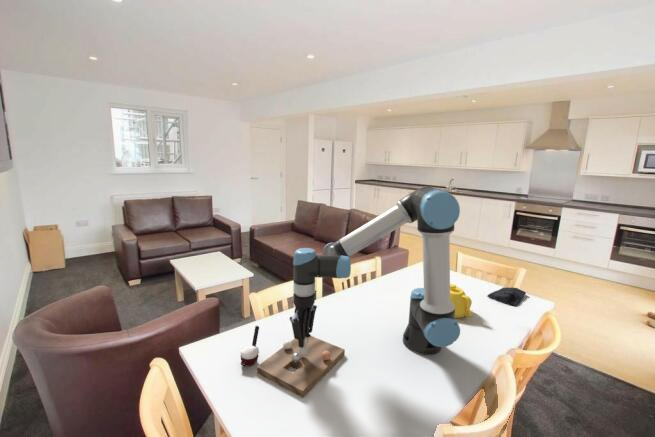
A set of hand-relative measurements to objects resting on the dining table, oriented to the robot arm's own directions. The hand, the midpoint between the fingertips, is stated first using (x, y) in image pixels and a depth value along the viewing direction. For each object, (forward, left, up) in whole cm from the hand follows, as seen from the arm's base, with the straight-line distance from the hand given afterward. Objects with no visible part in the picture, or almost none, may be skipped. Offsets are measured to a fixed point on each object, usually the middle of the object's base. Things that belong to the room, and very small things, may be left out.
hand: (303, 353), depth 113 cm
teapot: (-34, -74, -4) cm, 82 cm away
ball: (0, +4, 0) cm, 4 cm away
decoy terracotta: (-8, -4, 0) cm, 9 cm away
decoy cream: (+8, -1, 0) cm, 8 cm away
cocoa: (+16, +11, -4) cm, 20 cm away
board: (0, 0, -4) cm, 4 cm away
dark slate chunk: (-59, -110, -5) cm, 125 cm away
